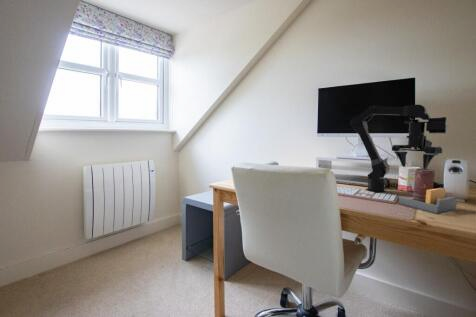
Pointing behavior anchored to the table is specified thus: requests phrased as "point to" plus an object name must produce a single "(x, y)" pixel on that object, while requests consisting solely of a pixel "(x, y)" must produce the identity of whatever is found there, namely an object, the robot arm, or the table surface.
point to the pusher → (434, 195)
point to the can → (423, 183)
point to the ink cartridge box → (407, 177)
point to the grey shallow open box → (431, 205)
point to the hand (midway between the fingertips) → (414, 168)
